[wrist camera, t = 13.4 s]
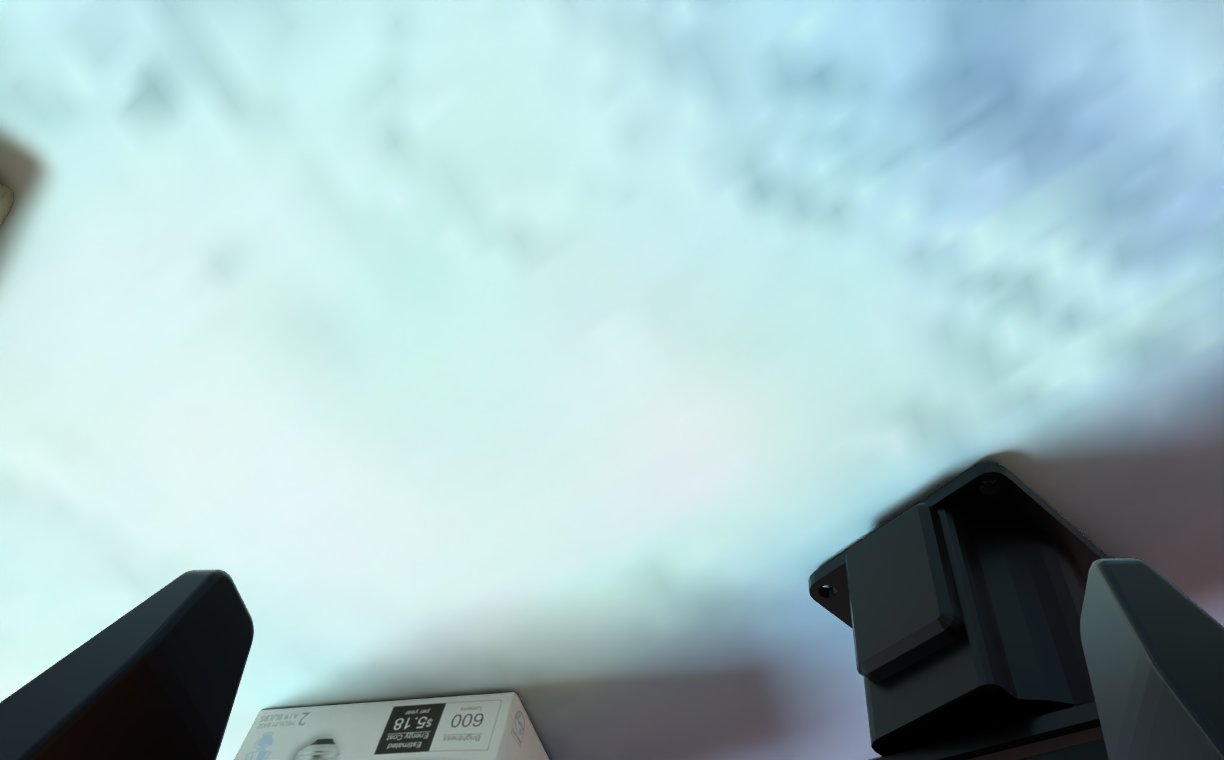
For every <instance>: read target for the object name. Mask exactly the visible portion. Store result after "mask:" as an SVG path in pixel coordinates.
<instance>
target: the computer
mask: <svg viewBox="0 0 1224 760" xmlns="http://www.w3.org/2000/svg"><path fill="white" fill-rule="evenodd" d="M13 194H14V193H13V192H12V191H11V190H10V189H9V188H7V187H5V186H3V185H1V184H0V226H1V224H2V223H3V221H4V220H5V218H6V217H7V215H8V213H9V211H10V209H11V206H12V204H13Z"/></svg>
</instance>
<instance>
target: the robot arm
mask: <svg viewBox="0 0 1224 760" xmlns="http://www.w3.org/2000/svg"><path fill="white" fill-rule="evenodd" d="M986 480H996V481H995V482H994V483H992V484H989V485H983V484H982V483H983V482H984V481H986ZM824 585H831V587H829V588H827V587H822V586H824ZM809 592H810V596H811V597H812V598H813V599H814V600H815V601H816V602H818V603H819V604H820V605H822V606H823V607H824V608H826V609H827V610H828V611H830V612H831V613H832V614H834V615H835V616H836V617H838V618H839V619H840V620H842V621H843V622H844V623H846V624H847V625H848V626H850V627H851V628H853V635H854V645H855V654H856V663H857V670H858V672H859V674H861V675H862V676H863V677H864V684H865V693H866V702H867V711H868V719H869V728H870V737H871V746H872V748H873V750H874V751H875V752H877V753H878V754H880V755H881V757H877V758H873V759H869V760H1224V627H1223V626H1222V625H1221V624H1220V623H1219V622H1217V621H1216V620H1215V619H1214V618H1212V617H1211V616H1210V615H1209V614H1208V613H1206V612H1205V611H1204V610H1203V609H1202V608H1200V607H1199V606H1198V605H1197V604H1196V603H1194V602H1193V601H1192V600H1191V599H1190V598H1188V597H1187V596H1186V595H1185V594H1184V593H1182V592H1181V591H1180V590H1179V589H1177V588H1176V587H1175V586H1174V585H1173V584H1171V583H1170V582H1169V581H1168V580H1167V579H1165V578H1164V577H1163V576H1162V575H1161V574H1159V573H1158V572H1157V571H1156V570H1155V569H1153V568H1152V567H1151V566H1150V565H1148V564H1147V563H1146V562H1144V561H1142V560H1139V559H1134V558H1128V559H1110V558H1109V557H1107V556H1106V555H1105V554H1104V553H1103V552H1102V551H1101V550H1099V549H1098V548H1097V547H1096V546H1095V545H1094V544H1092V543H1091V542H1090V541H1089V540H1088V539H1087V538H1086V537H1084V536H1083V535H1082V534H1081V533H1080V532H1079V531H1077V530H1076V529H1075V528H1074V527H1073V526H1072V525H1071V524H1069V523H1068V522H1067V521H1066V520H1065V519H1064V518H1062V517H1061V516H1060V515H1059V514H1058V513H1057V512H1056V511H1054V510H1053V509H1052V508H1051V507H1050V506H1049V505H1047V504H1046V503H1045V502H1044V501H1043V500H1042V499H1041V498H1039V497H1038V496H1037V495H1036V494H1035V493H1034V492H1033V491H1031V490H1030V489H1029V488H1028V487H1027V486H1026V485H1024V484H1023V483H1022V482H1021V481H1020V480H1019V479H1018V478H1016V477H1015V476H1014V475H1013V474H1012V473H1011V472H1009V471H1008V470H1007V469H1006V468H1005V467H1004V466H1002V465H1000V464H998V463H994V462H985V463H980V464H978V465H976V466H974V467H972V468H971V469H969V470H968V471H966V472H965V473H963V474H962V475H960V476H959V477H957V478H956V479H954V480H953V481H951V482H950V483H948V484H947V485H945V486H944V487H942V488H941V489H939V490H938V491H936V492H935V493H933V494H932V495H930V496H928V497H927V498H925V499H924V500H922V501H921V502H919V503H918V504H916V505H914V506H912V507H911V508H909V509H908V510H906V511H905V512H903V513H902V514H900V515H899V516H897V517H896V518H894V519H893V520H891V521H890V522H888V523H887V524H885V525H884V526H882V527H881V528H879V529H878V530H876V531H874V532H873V533H871V534H870V535H868V536H867V537H865V538H864V539H862V540H861V541H859V542H858V543H856V544H855V545H853V546H852V547H850V548H849V549H848V550H847V551H845V552H844V553H842V554H841V555H839V556H838V557H836V558H835V559H833V560H831V561H830V562H828V563H827V564H825V565H824V566H822V567H821V568H819V569H818V570H816V571H815V572H814V573H813V574H812V575H811V576H810V578H809ZM253 634H254V629H253V622H252V618H251V616H250V614H249V612H248V610H247V608H246V606H245V604H244V602H243V600H242V598H241V596H240V594H239V592H238V590H237V588H236V586H235V584H234V582H233V580H232V578H231V577H230V575H229V574H227V573H226V572H225V571H222V570H192V571H188V572H186V573H184V574H182V575H181V576H179V577H178V578H177V579H175V580H174V581H172V582H171V583H170V584H168V585H167V586H165V587H164V588H162V589H161V590H160V591H158V592H157V593H155V594H154V595H152V596H151V597H150V598H148V599H147V600H145V601H144V602H143V603H141V604H140V605H138V606H137V607H135V608H134V609H133V610H131V611H130V612H128V613H127V614H125V615H124V616H123V617H121V618H120V619H118V620H117V621H116V622H114V623H113V624H111V625H110V626H108V627H107V628H106V629H104V630H103V631H101V632H100V633H99V634H97V635H96V636H94V637H93V638H91V639H90V640H89V641H87V642H86V643H84V644H83V645H81V646H80V647H79V648H77V649H76V650H74V651H73V652H72V653H70V654H69V655H67V656H66V657H64V658H63V659H62V660H60V661H59V662H57V663H56V664H54V665H53V666H52V667H50V668H49V669H47V670H46V671H45V672H43V673H42V674H40V675H39V676H37V677H36V678H35V679H33V680H32V681H30V682H29V683H27V684H26V685H25V686H23V687H22V688H20V689H19V690H18V691H16V692H15V693H13V694H12V695H10V696H9V697H8V698H6V699H5V700H3V701H2V702H1V703H0V760H216V757H217V755H218V752H219V749H220V746H221V742H222V739H223V736H224V733H225V729H226V726H227V723H228V720H229V716H230V713H231V710H232V707H233V703H234V700H235V697H236V694H237V690H238V687H239V684H240V681H241V677H242V674H243V671H244V668H245V664H246V661H247V658H248V655H249V651H250V648H251V645H252V641H253Z"/></svg>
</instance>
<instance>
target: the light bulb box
mask: <svg viewBox="0 0 1224 760" xmlns="http://www.w3.org/2000/svg"><path fill="white" fill-rule="evenodd" d="M234 760H549V758H548V756H547V754H546V752H545V750H544V748H543V746H542V743H541V741H540V739H539V737H538V735H537V733H536V731H535V729H534V727H533V725H532V723H531V721H530V719H529V717H528V715H527V713H526V711H525V709H524V707H523V705H522V703H521V701H520V699H519V697H518V696H517V694H516V693H514V692H507V693H495V694H482V695H466V696H452V697H439V698H425V699H411V700H397V701H384V702H368V703H355V704H341V705H326V706H312V707H297V708H284V709H270V710H261V711H260V712H259V714H258V715H257V717H256V719H255V721H254V723H253V725H252V727H251V729H250V730H249V732H248V734H247V736H246V738H245V740H244V742H243V744H242V745H241V747H240V749H239V751H238V753H237V755H236V757H235V758H234Z"/></svg>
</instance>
